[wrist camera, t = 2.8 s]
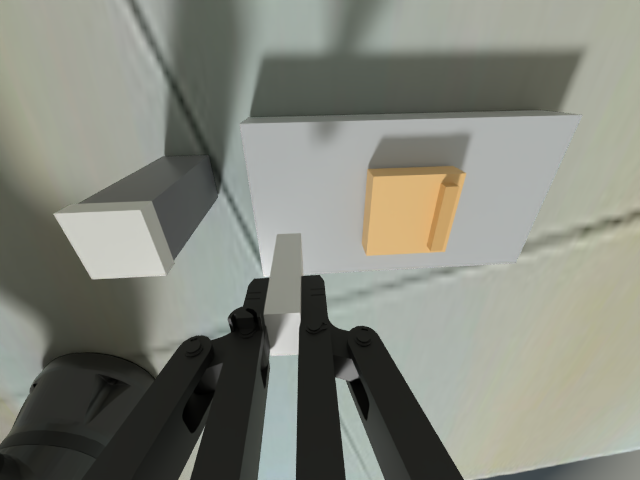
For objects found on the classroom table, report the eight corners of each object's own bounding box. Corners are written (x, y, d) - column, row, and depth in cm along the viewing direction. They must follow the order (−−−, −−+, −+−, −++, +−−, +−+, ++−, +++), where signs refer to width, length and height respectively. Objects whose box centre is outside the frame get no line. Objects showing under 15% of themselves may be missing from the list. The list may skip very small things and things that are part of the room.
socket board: (267, 254, 30) (263, 276, 26) (248, 117, 22) (239, 123, 19) (491, 242, 31) (515, 263, 27) (541, 110, 24) (582, 114, 20)
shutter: (361, 243, 25) (368, 261, 22) (367, 169, 21) (376, 180, 19) (434, 240, 25) (449, 256, 23) (453, 165, 21) (472, 176, 19)
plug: (175, 199, 26) (92, 279, 15) (161, 155, 24) (53, 213, 13) (219, 197, 26) (166, 275, 16) (209, 153, 24) (140, 209, 13)
